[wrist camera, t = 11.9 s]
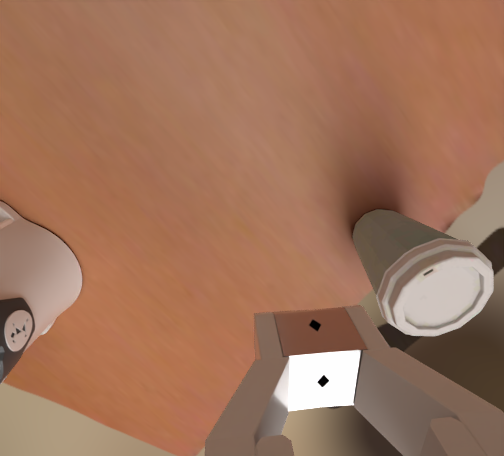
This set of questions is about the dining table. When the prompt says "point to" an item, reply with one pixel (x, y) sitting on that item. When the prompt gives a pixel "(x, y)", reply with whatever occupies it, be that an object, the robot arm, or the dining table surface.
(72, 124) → the dining table surface
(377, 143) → the dining table surface
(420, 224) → the disposable coffee cup
